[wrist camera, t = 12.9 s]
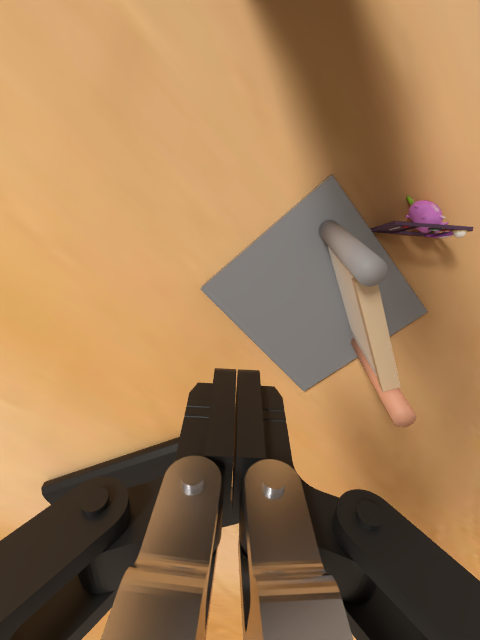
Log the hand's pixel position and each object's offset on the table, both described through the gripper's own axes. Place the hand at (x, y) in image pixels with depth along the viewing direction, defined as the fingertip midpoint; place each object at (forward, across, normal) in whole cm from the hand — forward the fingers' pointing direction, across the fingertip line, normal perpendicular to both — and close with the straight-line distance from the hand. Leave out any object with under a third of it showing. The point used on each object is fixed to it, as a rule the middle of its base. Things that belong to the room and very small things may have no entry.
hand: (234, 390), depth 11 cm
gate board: (+35, -11, +11) cm, 38 cm away
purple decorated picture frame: (+35, -21, -1) cm, 41 cm away
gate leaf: (+33, -15, +9) cm, 38 cm away
